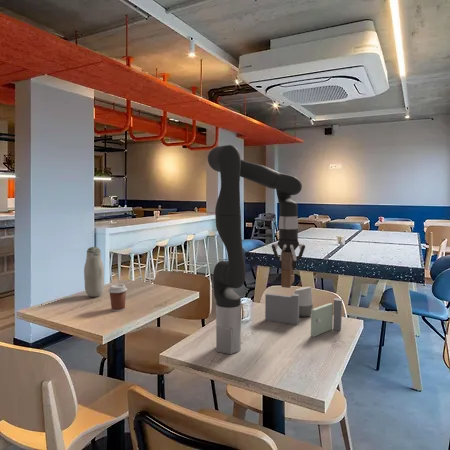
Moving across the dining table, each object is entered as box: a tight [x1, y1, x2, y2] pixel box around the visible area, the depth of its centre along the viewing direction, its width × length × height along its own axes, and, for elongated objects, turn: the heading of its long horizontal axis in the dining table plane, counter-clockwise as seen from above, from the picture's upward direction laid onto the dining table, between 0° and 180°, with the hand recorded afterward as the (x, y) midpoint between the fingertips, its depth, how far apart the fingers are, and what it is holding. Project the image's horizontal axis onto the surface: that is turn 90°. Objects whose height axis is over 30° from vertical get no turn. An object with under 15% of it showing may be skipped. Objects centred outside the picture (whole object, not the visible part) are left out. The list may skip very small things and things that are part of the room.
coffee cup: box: [107, 283, 128, 312], centre depth 193 cm, size 9×9×12 cm
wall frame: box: [264, 293, 343, 331], centre depth 171 cm, size 3×33×13 cm, turn 67°
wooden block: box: [280, 251, 295, 289], centre depth 156 cm, size 4×11×18 cm, turn 161°
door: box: [310, 302, 334, 338], centre depth 161 cm, size 3×14×11 cm, turn 132°
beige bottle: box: [83, 246, 105, 298], centre depth 215 cm, size 10×10×28 cm
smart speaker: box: [294, 285, 314, 318], centre depth 184 cm, size 10×9×14 cm
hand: (288, 269), depth 157 cm, fingers closed on wooden block, 4 cm apart
